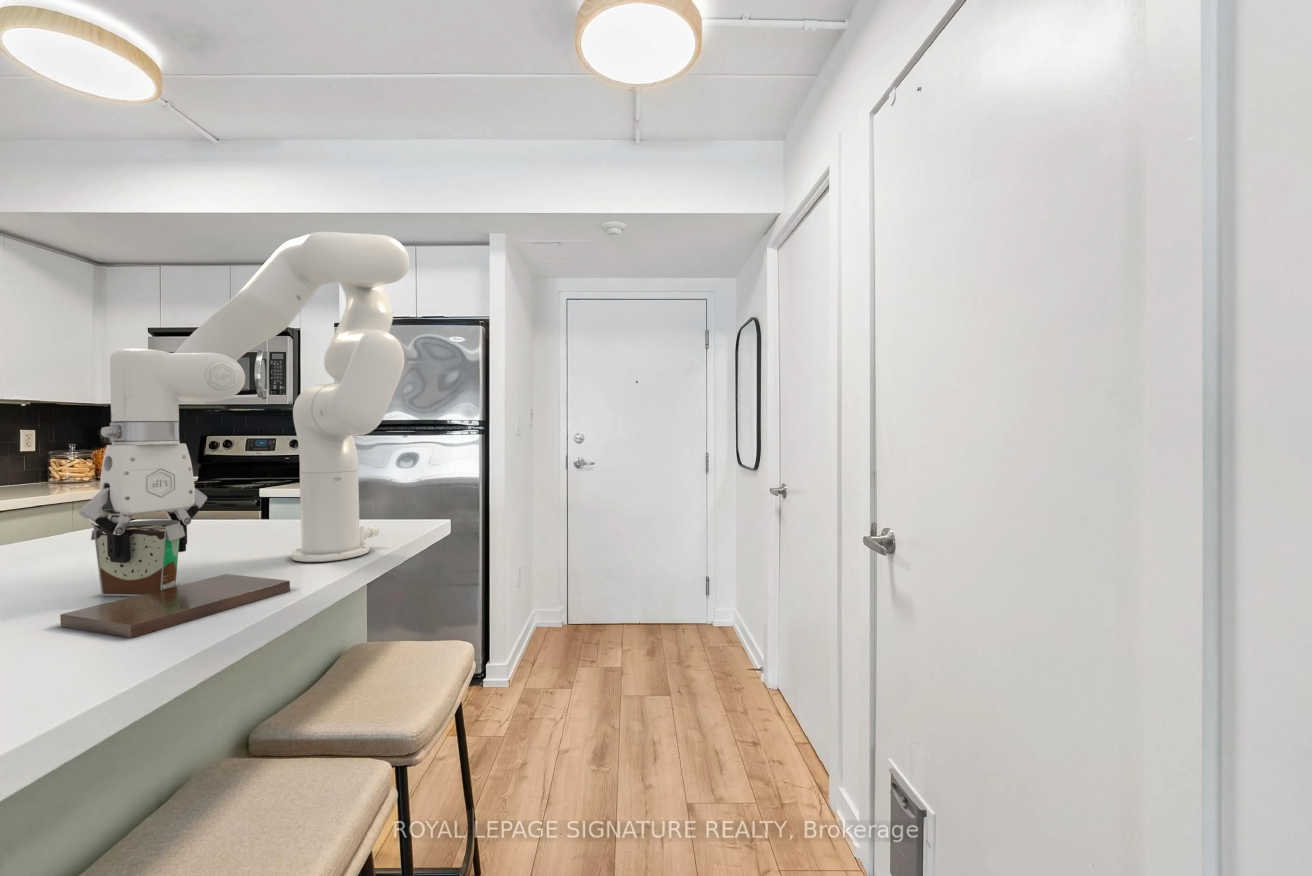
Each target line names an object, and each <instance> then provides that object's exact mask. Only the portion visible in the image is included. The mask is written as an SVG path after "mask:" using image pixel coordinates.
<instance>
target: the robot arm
mask: <svg viewBox="0 0 1312 876" xmlns="http://www.w3.org/2000/svg"><path fill="white" fill-rule="evenodd" d="M410 265H411V262H410V255H409V253H408V251H407V248H406V247H405V246H404V245H403V244H402V243H401V242H400V241H399V240H397V239H396V238H394V237H393V236H389V235H385V234H378V233H377V234H376V233H375V234H374V233H359V232H358V233H355V232H341V231H339V232H338V231H337V232H336V231H315V232H314V231H313V232H311V233H308V234H304V235H301V236H299V237H295V238H292V239H289V240H287V241H285V242H284V243H282V244H281V245H280V246H279V247H278V248H277V249H276V250H275V251H274V252H273V253H272V255H270V256H269V257H268V258H267V260H266V261H265V262H264V263H263V264H262V266H261V267H260V268H259V269H258V270H257V271H256V273H254V274H253V276H251V278H250V279H249V280H248V281H247V282H246V284H245V285H243V287H241V289H240V290H239V291H238V292H237V293H236V294H235V295H234V296H233V297H231V298H230V299H229V300H228V301H227V302H225V304H224V305H222V306H221V307H219V309H218V310H217V311H216V312H215V313H214V314H212V315H211V316H210V317H209V318H208V319H207V320H205V321H204V322H203V323H202V324H200V325H199V326H198V328H196V329H195V330H194V331H193V332H192V333H191V334H190V335H189V336H188V337H187V338H186V339H185V341H184V342H183V343H182V344H181V345H180V346H179V347H178V348H177V349H176V350H175V351H174V352H168V351H165V350H159V349H151V348H150V349H149V348H120V349H116V350H114V351H113V352H112V353H111V354H110V357H109V383H110V384H109V385H110V388H109V389H110V421H111V422H109V426H103V427H101V429H100V434H101V436H102V437H106V438H107V437H108V438H109V439H110V441H111V444H107V445H106V447H105V450H104V455H103V459H102V464H101V471H100V478H99V479H100V481H99V492H98V493H96V494H95V496H93V497H92V498H91V499H89V501H87V502H86V503H85V504H83V506H81V507H80V508H79V509H78V511H77V512H78V514H79V515H80V516H82V517H83V518H84V519H85V520H86V521H88V522H90V523H91V525H92V526H93V527H94V526H95V527H97V528H98V529H100V530H101V531H102V533H104V534H107V553H108V556H109V558H110V561H111V562H117V563H127V562H129V561H130V536H129V535H128V534H125V530H126V528H127V525H128V523H129V522H130V521H131V519H132V517H133V516H138V515H148V514H154V513H155V514H156V513H162V512H164V513H165V515H166V516H167V518H168V520H176V521H180V525H182V526H183V529H184V533H185V536H184V537H182V538H179V549H178V553H184V552H186V551H187V544H188V526H189V525H190V524H191V523H192V519H193V518H194V517H195V516H196V515H197V513H199V511H200V508H202V507H203V505H204V504H205V503H206V502H207V500H208V496H207V495H206V494H204V493H203V492H202V491H200V490H199V489H198V488H196V487H195V478H194V477H195V476H194V470H193V464H192V460H191V456H190V453H189V452H190V451H189V449H188V446H187V443H181V442H180V411H179V410H180V406H179V405H180V404H179V401H180V402H185V403H207V402H208V403H209V402H210V403H212V402H222V401H225V400H226V401H227V400H229V399H231V398H233V397H235V396H236V395H237V394H239V393H240V392H241V390H242V389H243V388H244V386H245V384H246V383H245V382H246V374H245V371H244V368H243V367H242V366H241V365H240V363H239V362H238V361H239V359H241V358H242V357H243V356H244V355H246V353H248V352H249V351H251V350H252V349H253V348H255V347H257V346H258V345H259V346H260V345H261V344H262V343H264V342H267V341H269V340H271V339H273V338H274V337H277V336H278V335H279V334H281V333H282V332H284V331H285V330H286V329H287V328H288V327H289V326H290V325H291V324H292V322H293V321H295V319H296V317H297V316H298V315H299V314H300V313H301V311H302V310H303V309H304V307H305V306H306V305H307V304H308V302H309V301H310V300H311V299H312V298H313V296H314V295H315V294H316V293H317V291H318V290H319V289H320V288H321V287H322V286H324V285H329V284H333V283H338V284H339V285H340V286H341V288H342V290H343V293H344V296H345V309H344V311H343V314H342V317H341V319H340V320H339V323H338V325H337V328H336V330H335V332H334V334H333V336H332V338H331V340H330V342H329V344H328V346H327V348H326V350H325V354H324V357H323V366H324V370H325V371H326V373H327V375H328V376H329V377H331V378H332V379H333V380H335V381H338V382H335V383H334V382H333V383H332V382H331V383H322V384H315V385H312V386H309V387H307V388H306V389H304V390H303V391H302V392H301V393H300V394H299V395H298V396H297V398H296V399H295V401H294V404H293V409H292V420H293V424H294V429H295V434H296V438H297V445H298V456H299V496H300V497H299V501H300V504H299V505H300V507H299V508H300V545H301V546H300V548H296V549H295V550H293V551H292V552H291V559H292V560H293V561H295V562H301V563H322V562H324V563H325V562H333V561H334V562H335V561H340V560H346V559H348V560H349V559H351V558H357V557H360V556H364V555H366V554H367V553H369V551H370V545H369V544H368V543H365V540H367V538H374V537H377V536H379V533H380V532H379V528H378V527H377V526H375V525H374V526H370V527H369V526H368V527H366V528H365V527H364V526H360V491H359V490H360V489H359V488H360V487H359V454H358V450H357V449H358V448H357V445H356V442H355V440H354V437H358V436H364V435H368V434H369V433H371V432H373V431H374V430H376V429H377V428H378V426H380V424H381V423H382V421H383V420H384V417H385V415H386V413H387V412H388V409H389V406H390V404H391V402H392V399H393V397H394V395H395V392H396V390H397V388H398V385H399V382H400V380H401V377H402V375H403V372H404V367H405V353H404V349H403V347H402V344H401V342H400V341H399V339H397V338H396V337H395V336H394V335H393V334H391V333H390V330H391V328H392V324H393V321H394V311H393V306H392V304H391V301H390V298H389V296H388V294H387V291H386V290H385V287H384V285H388V284H393V283H396V282H399V281H401V280H402V279H403V278H404V277H405V276H407V274H408V272H409V269H410ZM100 510H101V511H102V512H103V513H105V514H109V515H108V516H104V515H103V514H102V513H101V511H100Z"/></svg>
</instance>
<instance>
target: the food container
mask: <svg viewBox="0 0 1312 876" xmlns="http://www.w3.org/2000/svg"><path fill="white" fill-rule="evenodd" d="M125 534H128V535H129V536H130V561H129V562H127V563H117V562H111V561H110V558H109V556H108V553H107V534H104V533H102V531H101V530H100V529H98V528H97V527H95V526H94V525H93V529H91V535H90V541H94V544H95V552H96V560H97V570H98V578H99V586H100V587H99V588H100V594H101V596H102V597H104V596H106V597H133V596H138V595H142V594H146V593H150V592H154V591H158V590H162V589H166V588H171V587H175V586H177V571H178V559H179V552H178V549H179V538H182V537H184V536H185V533H184V529H183V526H182V525H180V521H176V520H169V519H149V520H147V519H145V520H130V521H129V523H128V525H127V528H126V530H125Z"/></svg>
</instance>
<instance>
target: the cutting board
mask: <svg viewBox="0 0 1312 876" xmlns="http://www.w3.org/2000/svg"><path fill="white" fill-rule="evenodd" d="M290 591H291V581H290V580H289V579H288V580H287V579H280V578H279V579H277V578H270V577H269V578H268V577H258V576H250V575H249V576H248V575H242V574H241V575H240V574H231V573H224V574H220V575H217V576H216V575H215V576H212V577H209V578H204V579H199V580H196V581H192V582H187V583H184V584H179V585H175V587H171V588H166V589H162V590H158V591H154V592H150V593H146V594H142V595H138V596H128V597H126V598H121V599H117V600H113V601H109V602H104V603H101V604H96V605H92V606H88V607H84V608H80V609H76V610H71V611H68V612H64V613H60V616H59V619H60V622H59V623H60V627H63V628H70V629H75V630H81V631H86V632H87V631H88V632H93V633H99V634H105V635H111V636H118V637H124V638H136V637H139V636H143V635H146V634H149V633H152V632H153V633H154V632H157V631H160V630H163V629H167V628H171V627H173V626H176V625H180V624H183V623H186V622H190V621H193V620H196V619H200V618H204V617H206V616H209V615H213V614H217V613H220V612H224V611H226V610H231V609H233V608H236V607H241V606H244V605H246V604H250V603H253V602H257V601H259V600H260V601H261V600H263V599H266V598H271V597H273V596H277V595H280V594H284V593H286V592H290Z"/></svg>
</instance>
